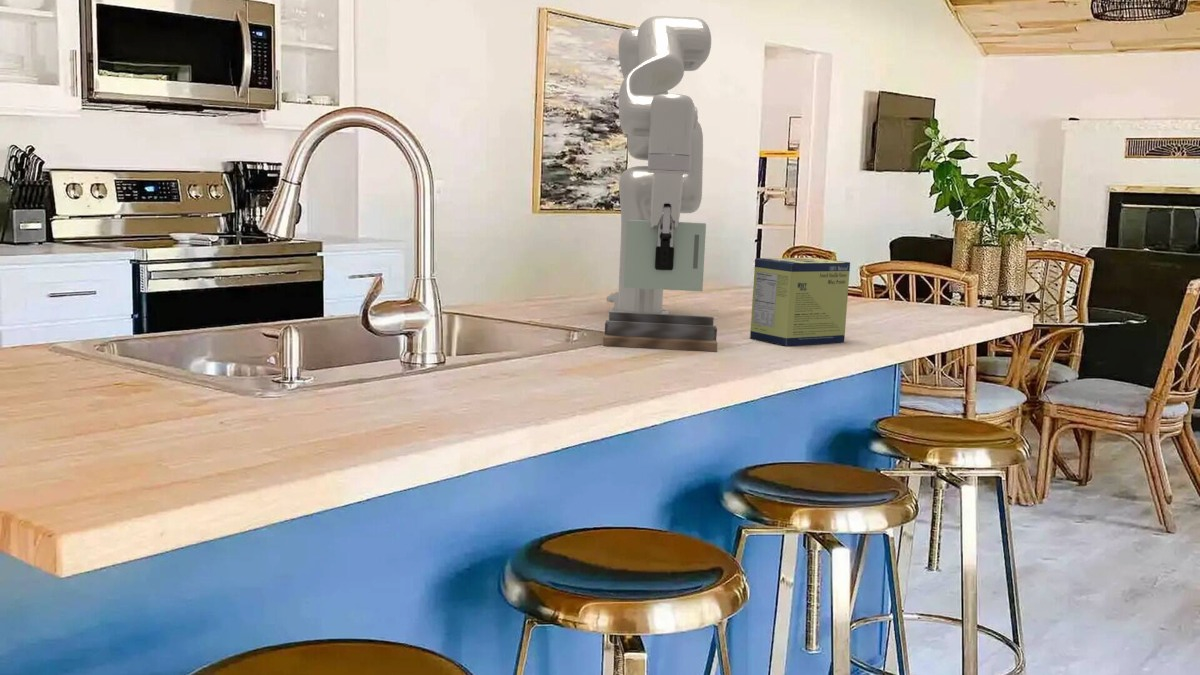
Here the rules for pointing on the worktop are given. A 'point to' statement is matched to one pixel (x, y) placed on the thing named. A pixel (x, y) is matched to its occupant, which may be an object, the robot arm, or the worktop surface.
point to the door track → (660, 331)
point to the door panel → (684, 263)
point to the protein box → (799, 301)
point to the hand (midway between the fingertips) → (663, 268)
